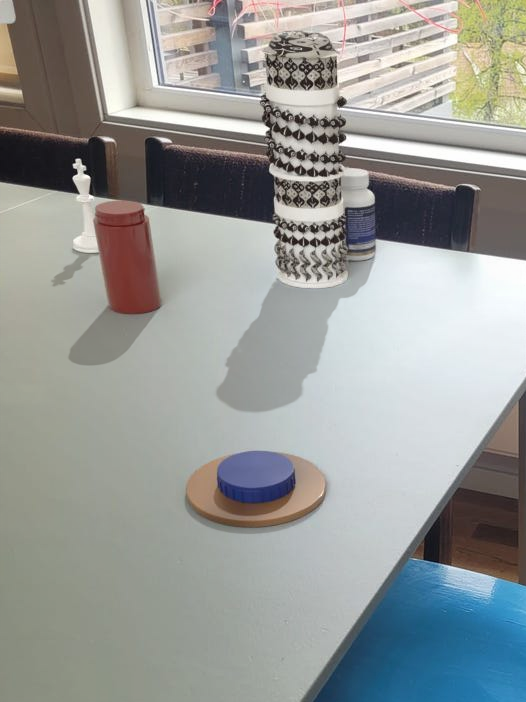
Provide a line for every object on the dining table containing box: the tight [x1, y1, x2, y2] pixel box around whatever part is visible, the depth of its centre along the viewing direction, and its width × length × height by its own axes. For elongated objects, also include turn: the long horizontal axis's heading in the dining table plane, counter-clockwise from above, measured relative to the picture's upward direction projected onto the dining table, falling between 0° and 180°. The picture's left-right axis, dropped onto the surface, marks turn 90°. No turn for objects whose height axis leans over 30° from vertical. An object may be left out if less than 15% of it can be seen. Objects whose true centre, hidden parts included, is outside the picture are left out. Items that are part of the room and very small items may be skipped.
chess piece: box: [72, 158, 99, 254], centre depth 120 cm, size 5×5×10 cm
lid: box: [217, 450, 296, 503], centre depth 79 cm, size 6×6×1 cm
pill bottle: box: [341, 167, 377, 262], centre depth 123 cm, size 5×5×10 cm
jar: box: [93, 200, 163, 315], centre depth 106 cm, size 6×6×10 cm
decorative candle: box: [259, 30, 349, 289], centre depth 111 cm, size 9×9×25 cm
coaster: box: [185, 451, 327, 528], centre depth 80 cm, size 11×11×1 cm
